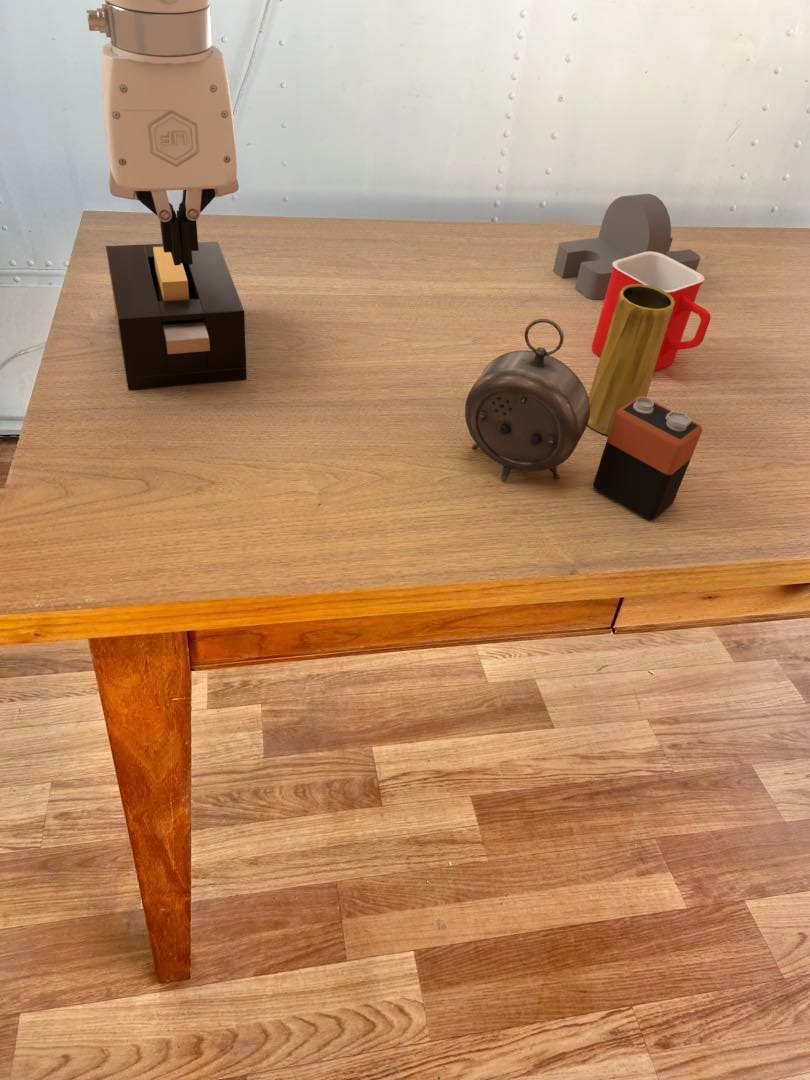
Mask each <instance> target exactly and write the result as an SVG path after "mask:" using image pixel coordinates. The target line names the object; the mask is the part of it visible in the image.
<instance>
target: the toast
mask: <svg viewBox="0 0 810 1080" xmlns="http://www.w3.org/2000/svg"><path fill="white" fill-rule="evenodd" d="M153 252H154V261H155V271H156V280H157V290H158V299H159V301H175V300H189V290H188V280H187V277H186V273H185V270H184V267H183V263H180V265H174V262H173V258H172V255H171V252H164V250H163V247H153Z"/></svg>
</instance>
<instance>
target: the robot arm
mask: <svg viewBox="0 0 810 1080" xmlns="http://www.w3.org/2000/svg"><path fill="white" fill-rule="evenodd" d="M210 9H211V8H210V0H104V3H102V4H101V8H99V7H98V8H96V9H95V10H94V9H86V18H87V24H88V29H89V32H99V33H100V34H105V36H106V38H110V42H107V43H105V44H104V45H103V46H102V54H101V55H102V56H101V88H102V89H101V91H102V92H101V96H102V98H101V100H102V112H103V123H104V131H105V143H106V150H107V158H108V161H109V162H108V163H109V167H110V172H109V179H108V187H109V192H110V194H111V195H112V196H114V197H117V198H122V199H127V200H132V201H135V200H136V201H139V202H140V203H141V204H142V205H143V206H144V207H146V208H147V209H148V210H150V211H151V212H152V213H153V214H154V215H155V216H157V218H158V220H159V224H160V234H161V244H163V250H164V252H171V255H172V258H173V262H174V265H180V263H182V258H183V261H184V263H186V264H187V265H190V264H193V262H192V251H198V242H199V238H198V225H197V220H199V218H200V216H201V213H202V212H203V211H204V210H205V208H206V207H207V206H208V205H209V204H210V203H211V202H212V201H214V199H215V198H217V197H218V198H220V197H224V196H227V195H230V194H233V193H236V192H238V190H239V188H240V185H239V182H238V179H237V175H238V159H237V145H236V134H235V124H234V123H235V122H234V114H233V113H234V112H233V104H232V96H231V90H230V83H229V78H228V72H227V67H226V62H225V59H224V55H223V53H222V51H220V49H219V48H218V47H216V46H214V45H213V43H212V27H211V26H212V25H211V10H210ZM167 191H181V202H180V203H179V204H178V210H175V209H174V205H173V204H172V203H171V202H170V200H169V197H168V193H167Z"/></svg>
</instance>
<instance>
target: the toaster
mask: <svg viewBox="0 0 810 1080" xmlns="http://www.w3.org/2000/svg"><path fill="white" fill-rule="evenodd" d="M153 247H163V244H162V243H148V244H124V245H106V246H105V251H106V258H107V265H108V271H109V278H110V284H111V286H110V287H111V293H112V298H113V305H114V313H115V319H116V324H117V331H118V337H119V342H120V349H121V355H122V360H123V361H122V362H123V366H124V372H125V373H124V374H125V379H126V385H127V390H128V391H135V390H147V389H157V388H168V387H180V386H189V385H190V386H191V385H201V384H203V385H204V384H214V383H224V382H235V381H247V349H246V348H247V345H246V322H245V321H246V318H245V317H246V315H245V308H244V306H243V304H242V301H241V298H240V295H239V293H238V291H237V287H236V286H235V282H234V280H233V277H232V275H231V272H230V269H229V267H228V264H227V262H226V257H225V256H224V253H223V251H222V247H221V246H220V242H219V241H218V240H217V241H198V251H192V262H193V264H190V265H187V264H186V263H184V261H183V258H182V263H183V267H184V270H185V273H186V277H187V280H188V290H189V300H175V301H159V299H158V290H157V280H156V271H155V261H154V252H153ZM199 322H204V323H205V326H206V329H207V332H208V335H209V342H210V351H202V352H189V353H176V354H168V353H167V349H166V345H165V340H164V333H163V325H170V324H185V323H199Z"/></svg>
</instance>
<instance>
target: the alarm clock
mask: <svg viewBox="0 0 810 1080" xmlns="http://www.w3.org/2000/svg"><path fill="white" fill-rule="evenodd" d="M540 323H541V324H543V323H545V324H549V325H551V326H553V327H554V328H555V329H556V331H557V332H558V334H559V342H558V345H557V346H556V347H555V348H554V349H553V350H550V351H547V349H546V348H545V347H541V346H539V347H537V348H535V347H533V346H532V344H531V342H530V339H529V332H530V330H531V328H533V327H534V326H535V325H537V324H540ZM564 338H565V337H564V332H563V330H562V328H561V326H560V325H559V324H558V323H557V322H555V321H554V320H552V319H548V318H538V319H535V320H532V321H531V322H530V323H528V325H527V326H526V327H525V331H524V340H525V343H526V346H527V347H528V348H529V349H521V350H520V349H519V350H513V351H509V352H505V353H503V354H501V355H499V356H496V357H495V358H494V359H493V360H491V361H490V362H489V363H488V364H487V365H486V367H485V368H484V369H483V371H482V372H481V374H480V376H478V379H477V380H476V381H475V382H474V384H473V385H472V387H471V388H470V390H469V392H468V394H467V397H466V399H465V406H464V416H465V424H466V426H467V429H468V433H469V435H470V436H471V438H472V439H473V441H474V443H473V444H472V445H471V449H472V450H473V451H477V450H478V449H480V451H481V452H483V454H484V455H486V456H487V457H488V458H490V459H491V460H492V461H494V462H495V463H497V464H499V465H500V466H503V468H502V471H501V475H500V480H501V482H503V483H507V481H508V480H509V477H510V474H511V471H517V472H522V473H523V472H524V473H540V472H546V471H549V472H551V474H552V479H553V480H555V481H558V480H559V479H560V477H561V476H560V474H559V473H558V469H557V468H558V466H560V465H562V464H563V463H564V462H566V461H567V460H568V459H569V458H570V457H571V455H572V454H573V453H574V451H575V450H576V448H577V446H578V444H579V441H580V440H581V438H582V436H583V435H584V433H585V431H586V429H587V426H588V425H587V424H588V421H589V416H590V404H589V398H588V396H589V394H588V393H587V390H586V388H585V386H584V384H583V382H582V381H581V379H580V378H579V376H578V375H577V374H576V372H574V371H573V370H572V369H571V368H570V367H569V366H568V365H567V364H565V362H562V361H561V360H559V359H558V358H556V357H554V356H552V355H553V354H555V353H556V352H558V351H559V350H560V349H561V348H562V345H563V343H564Z"/></svg>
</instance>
